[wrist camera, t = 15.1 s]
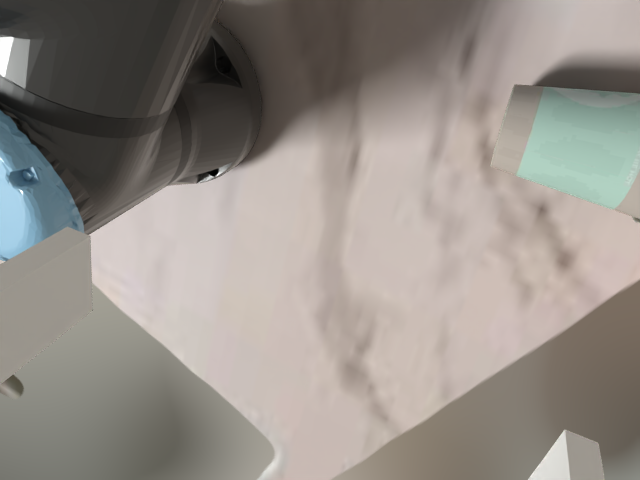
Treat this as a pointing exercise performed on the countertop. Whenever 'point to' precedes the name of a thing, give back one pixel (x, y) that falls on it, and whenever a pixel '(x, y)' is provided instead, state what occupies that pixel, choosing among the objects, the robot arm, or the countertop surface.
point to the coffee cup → (574, 143)
